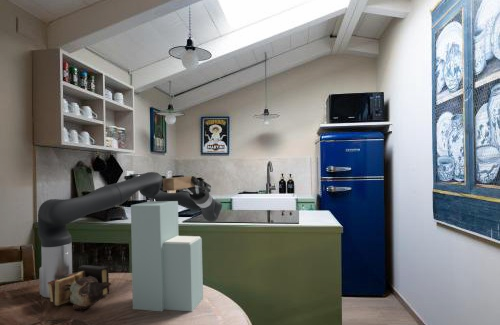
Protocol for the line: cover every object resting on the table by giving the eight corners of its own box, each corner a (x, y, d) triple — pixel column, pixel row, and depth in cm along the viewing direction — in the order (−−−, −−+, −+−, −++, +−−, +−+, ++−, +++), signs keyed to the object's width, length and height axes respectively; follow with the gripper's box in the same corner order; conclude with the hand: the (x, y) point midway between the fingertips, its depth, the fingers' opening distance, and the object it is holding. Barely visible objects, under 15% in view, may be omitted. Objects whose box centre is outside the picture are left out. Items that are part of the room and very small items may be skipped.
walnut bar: (163, 190, 106) (162, 178, 106) (187, 186, 125) (186, 176, 125) (174, 190, 105) (173, 178, 105) (196, 186, 124) (196, 176, 124)
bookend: (84, 264, 115) (129, 265, 103) (85, 294, 114) (132, 299, 102) (41, 275, 102) (87, 278, 90) (42, 309, 101) (89, 317, 89)
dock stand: (132, 308, 96) (130, 205, 97) (153, 293, 108) (151, 201, 109) (189, 313, 92) (187, 205, 93) (204, 297, 104) (202, 201, 104)
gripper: (215, 204, 131) (202, 186, 116) (184, 204, 134) (167, 187, 119) (218, 188, 135) (205, 169, 120) (187, 188, 138) (171, 170, 123)
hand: (186, 178), depth 120 cm, fingers closed on walnut bar, 4 cm apart
